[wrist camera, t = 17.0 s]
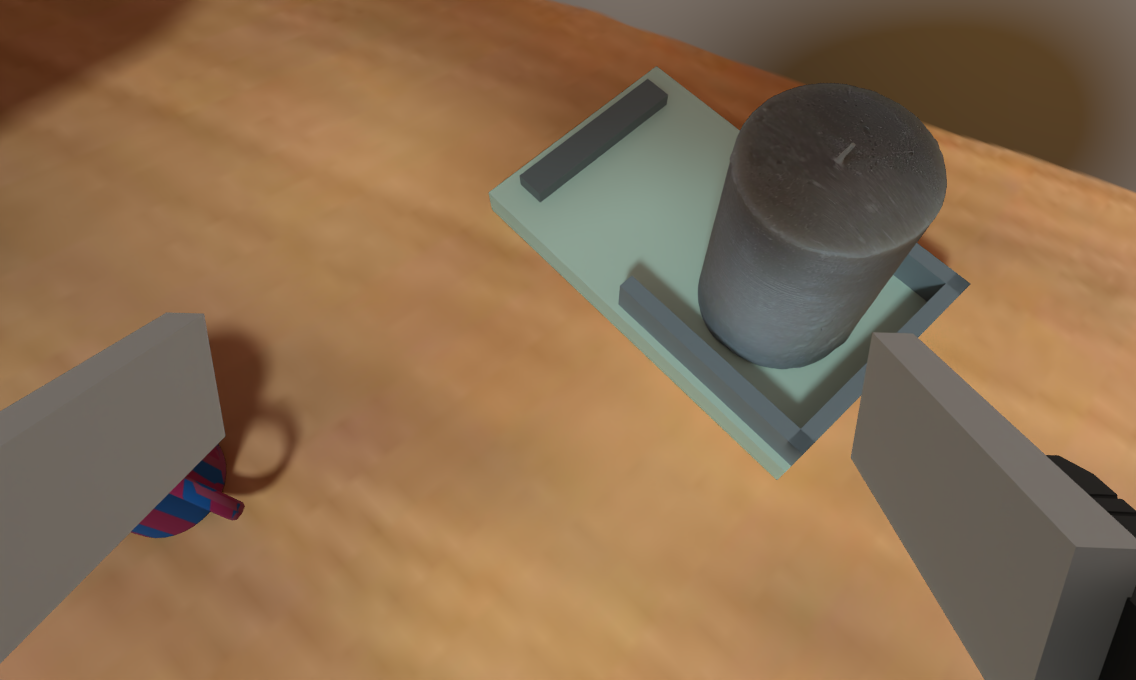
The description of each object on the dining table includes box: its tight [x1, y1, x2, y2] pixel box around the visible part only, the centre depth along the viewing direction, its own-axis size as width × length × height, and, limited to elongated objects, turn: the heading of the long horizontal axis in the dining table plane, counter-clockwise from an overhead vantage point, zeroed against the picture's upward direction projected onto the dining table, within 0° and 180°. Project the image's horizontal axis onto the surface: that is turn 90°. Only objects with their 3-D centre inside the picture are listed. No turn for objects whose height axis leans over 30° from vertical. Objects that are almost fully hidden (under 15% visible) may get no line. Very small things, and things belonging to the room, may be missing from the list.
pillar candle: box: [698, 83, 947, 369], centre depth 39 cm, size 10×10×15 cm
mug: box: [131, 444, 245, 538], centre depth 41 cm, size 7×10×7 cm
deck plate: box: [489, 66, 970, 480], centre depth 48 cm, size 26×16×4 cm, turn 43°
